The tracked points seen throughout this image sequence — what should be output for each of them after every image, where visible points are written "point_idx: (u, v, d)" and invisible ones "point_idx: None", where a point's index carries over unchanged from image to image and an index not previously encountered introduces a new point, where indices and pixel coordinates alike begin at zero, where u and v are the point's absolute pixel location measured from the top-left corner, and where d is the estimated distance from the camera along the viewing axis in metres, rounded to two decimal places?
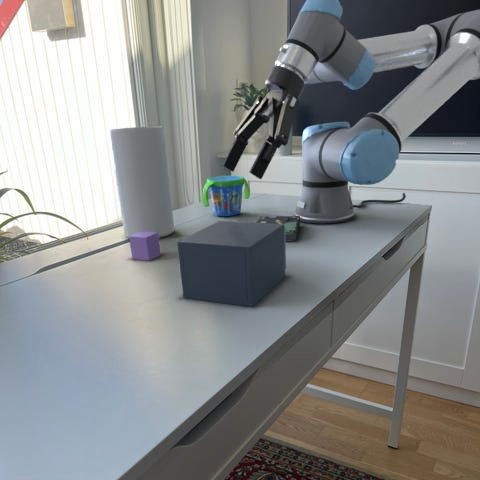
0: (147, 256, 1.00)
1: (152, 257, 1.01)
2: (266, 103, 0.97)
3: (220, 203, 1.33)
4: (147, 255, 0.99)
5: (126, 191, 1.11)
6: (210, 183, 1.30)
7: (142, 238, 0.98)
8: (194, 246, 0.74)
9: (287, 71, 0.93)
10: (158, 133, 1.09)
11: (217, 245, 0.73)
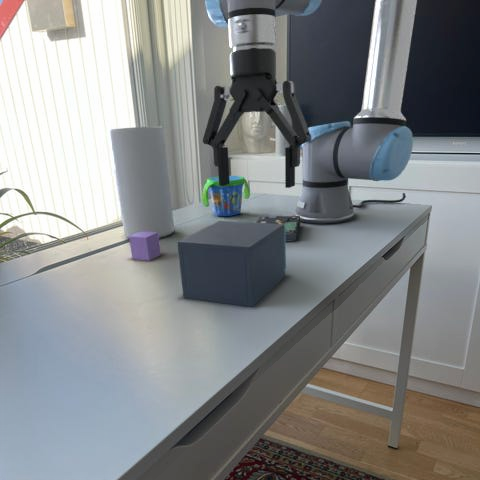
0: (147, 256, 1.00)
1: (152, 257, 1.01)
2: (245, 96, 0.79)
3: (221, 203, 1.33)
4: (147, 255, 0.99)
5: (126, 191, 1.11)
6: (210, 183, 1.30)
7: (142, 238, 0.98)
8: (194, 246, 0.74)
9: (264, 52, 0.75)
10: (158, 133, 1.09)
11: (217, 245, 0.73)
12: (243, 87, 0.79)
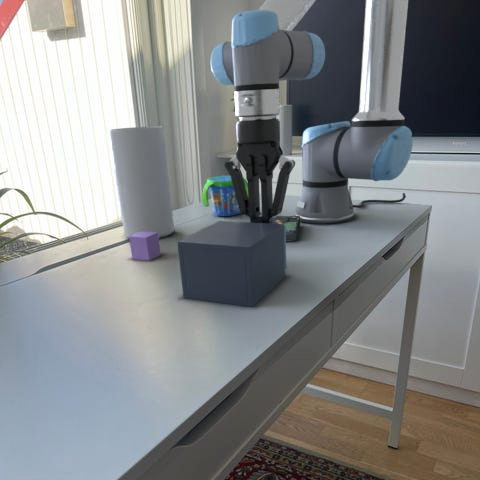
0: (147, 256, 1.00)
1: (152, 257, 1.01)
2: (252, 159, 0.84)
3: (221, 203, 1.33)
4: (147, 255, 0.99)
5: (126, 191, 1.11)
6: (210, 183, 1.30)
7: (142, 238, 0.98)
8: (194, 246, 0.74)
9: (269, 123, 0.79)
10: (158, 133, 1.09)
11: (217, 245, 0.73)
12: (249, 152, 0.84)
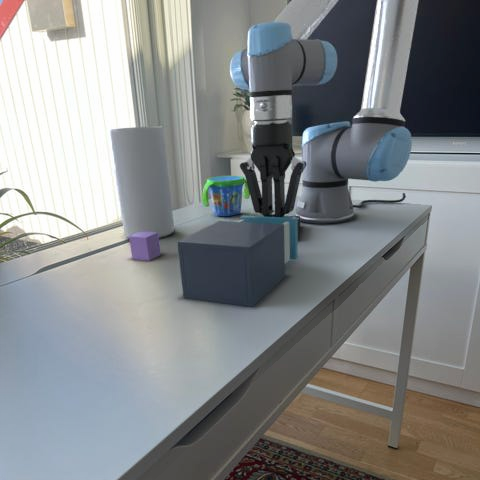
0: (147, 256, 1.00)
1: (152, 257, 1.01)
2: (266, 160, 0.89)
3: (221, 203, 1.33)
4: (147, 255, 0.99)
5: (126, 191, 1.11)
6: (210, 183, 1.30)
7: (142, 238, 0.98)
8: (194, 246, 0.74)
9: (282, 127, 0.85)
10: (158, 133, 1.09)
11: (217, 245, 0.73)
12: (263, 154, 0.89)
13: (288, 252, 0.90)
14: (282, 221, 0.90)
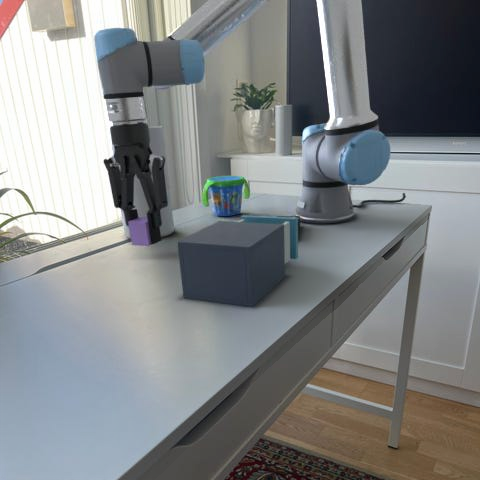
0: (146, 242, 0.99)
1: None
2: (126, 160, 0.94)
3: (221, 203, 1.33)
4: (147, 240, 0.98)
5: None
6: (210, 183, 1.30)
7: (141, 223, 0.97)
8: (194, 246, 0.74)
9: (134, 127, 0.89)
10: (158, 133, 1.09)
11: (217, 245, 0.73)
12: (123, 153, 0.94)
13: (288, 252, 0.90)
14: (282, 221, 0.90)
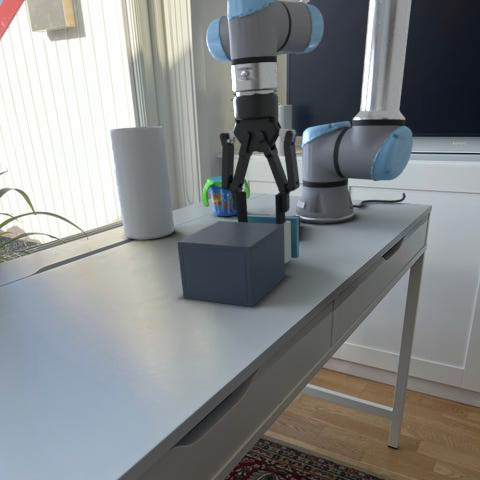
0: None
1: None
2: (250, 137, 0.82)
3: (221, 203, 1.33)
4: None
5: (126, 191, 1.11)
6: (210, 183, 1.30)
7: None
8: (194, 246, 0.74)
9: (267, 98, 0.77)
10: (158, 133, 1.09)
11: (217, 245, 0.73)
12: (247, 129, 0.82)
13: (289, 251, 0.91)
14: None
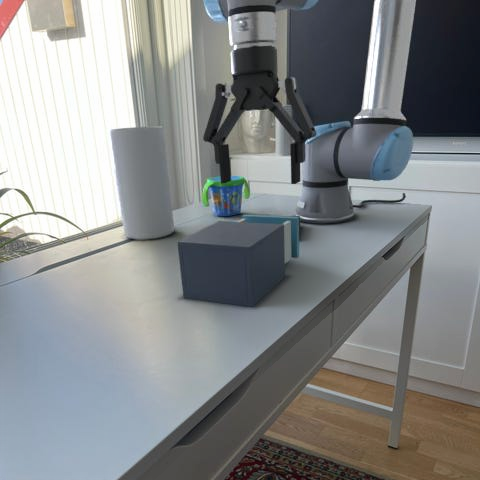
0: None
1: None
2: (247, 94, 0.79)
3: (220, 203, 1.33)
4: None
5: (126, 191, 1.11)
6: (210, 183, 1.30)
7: None
8: (194, 246, 0.74)
9: (265, 50, 0.74)
10: (158, 133, 1.09)
11: (217, 245, 0.73)
12: (245, 85, 0.79)
13: (289, 251, 0.91)
14: (284, 220, 0.91)
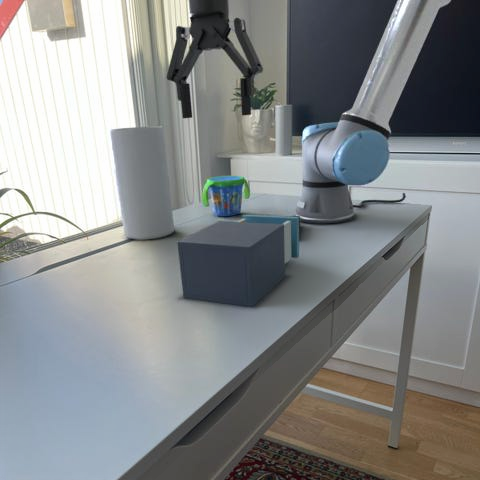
0: None
1: None
2: (203, 35, 0.91)
3: (221, 203, 1.33)
4: None
5: (126, 191, 1.11)
6: (210, 183, 1.30)
7: None
8: (194, 246, 0.74)
9: None
10: (158, 133, 1.09)
11: (217, 245, 0.73)
12: (200, 26, 0.90)
13: (289, 251, 0.91)
14: (284, 220, 0.91)
